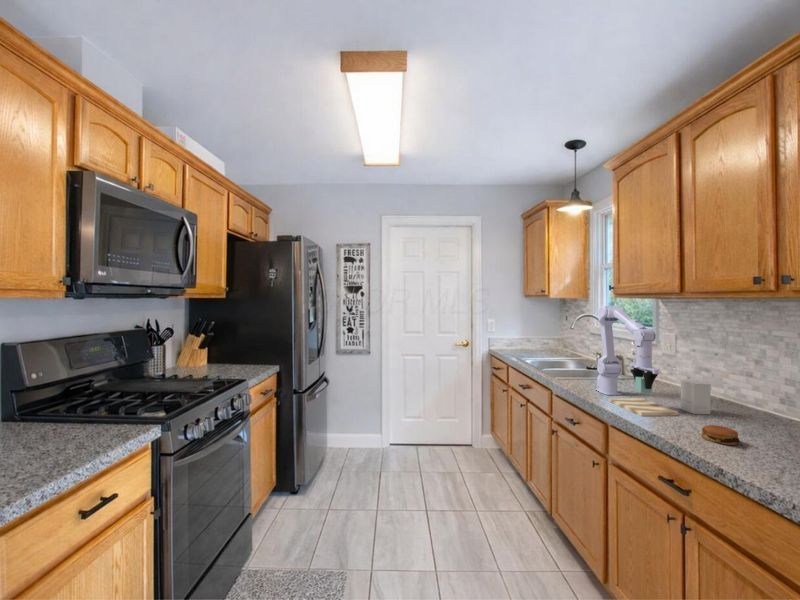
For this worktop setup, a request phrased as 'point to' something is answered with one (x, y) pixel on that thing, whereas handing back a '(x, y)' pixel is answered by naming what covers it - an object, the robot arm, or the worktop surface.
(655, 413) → the birch board
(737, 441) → the burger
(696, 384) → the supplement box
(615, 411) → the worktop surface
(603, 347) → the robot arm
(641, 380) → the teal block
